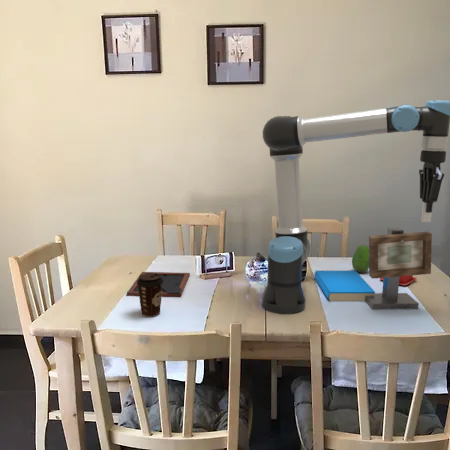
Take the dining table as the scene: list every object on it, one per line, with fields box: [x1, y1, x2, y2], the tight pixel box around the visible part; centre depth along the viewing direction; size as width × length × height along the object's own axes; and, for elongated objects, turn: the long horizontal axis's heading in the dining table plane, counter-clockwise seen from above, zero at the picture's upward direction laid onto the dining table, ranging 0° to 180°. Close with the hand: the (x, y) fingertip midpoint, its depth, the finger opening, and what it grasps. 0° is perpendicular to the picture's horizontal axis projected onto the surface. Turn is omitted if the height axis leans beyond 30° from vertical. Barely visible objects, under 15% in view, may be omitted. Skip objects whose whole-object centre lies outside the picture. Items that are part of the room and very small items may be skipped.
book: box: [313, 270, 376, 302], centre depth 182 cm, size 17×4×25 cm
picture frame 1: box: [126, 271, 191, 298], centre depth 185 cm, size 20×2×25 cm
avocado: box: [351, 244, 369, 274], centre depth 202 cm, size 8×8×12 cm
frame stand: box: [364, 227, 420, 310], centre depth 165 cm, size 16×10×27 cm, turn 92°
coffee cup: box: [137, 273, 163, 318], centre depth 157 cm, size 9×8×13 cm
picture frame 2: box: [368, 231, 433, 280], centre depth 160 cm, size 20×4×14 cm, turn 92°
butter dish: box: [379, 275, 417, 286], centre depth 191 cm, size 12×12×8 cm
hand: (425, 221), depth 158 cm, fingers closed
